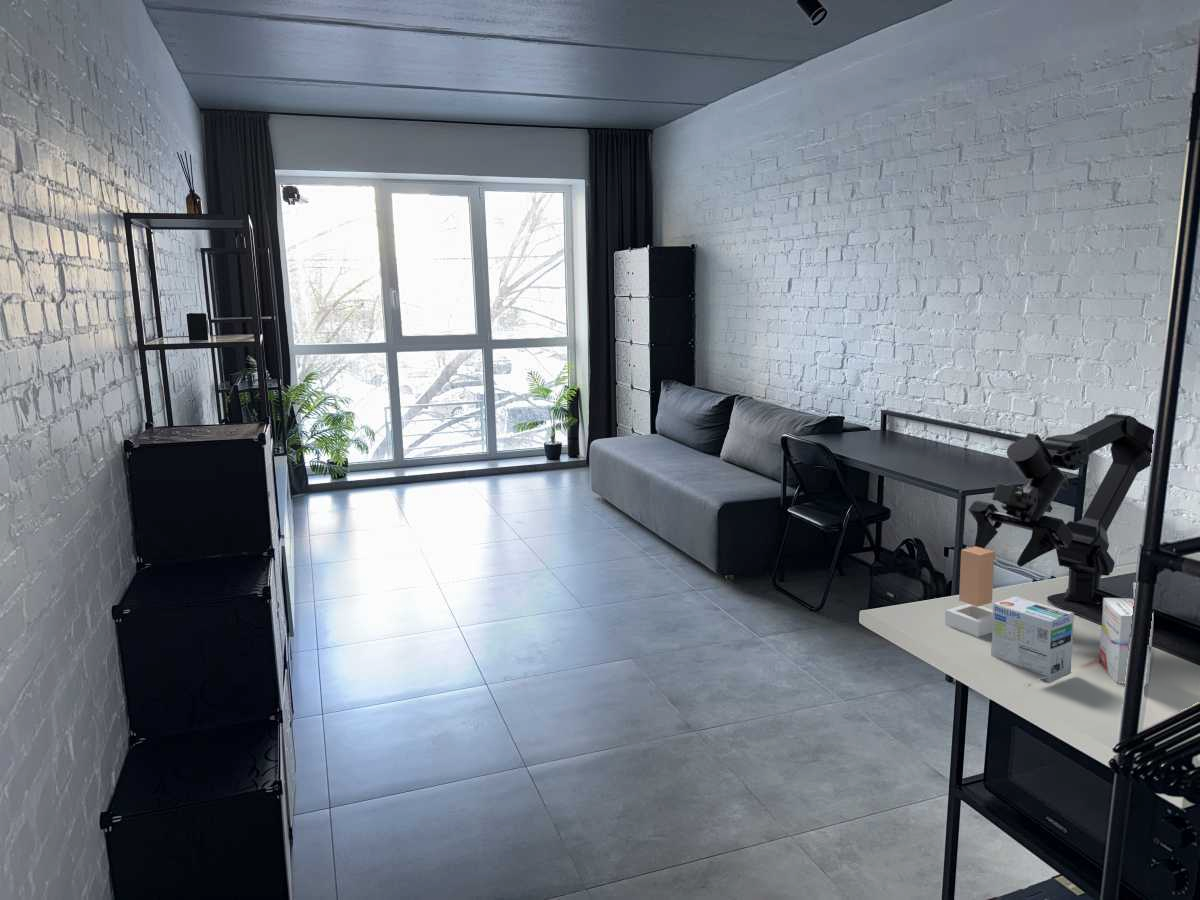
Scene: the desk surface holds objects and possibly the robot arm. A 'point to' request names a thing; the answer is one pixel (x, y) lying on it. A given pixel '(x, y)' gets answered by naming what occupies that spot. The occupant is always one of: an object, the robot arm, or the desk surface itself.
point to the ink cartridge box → (1118, 636)
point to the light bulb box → (1033, 636)
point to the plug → (976, 576)
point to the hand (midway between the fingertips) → (996, 558)
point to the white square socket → (970, 619)
